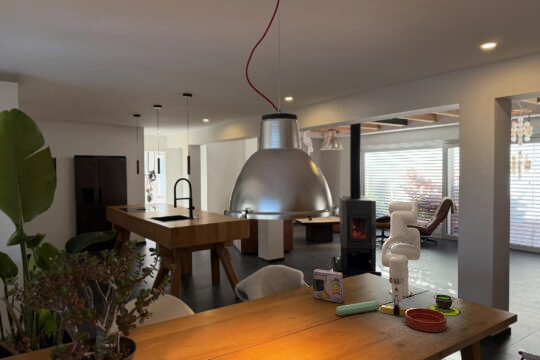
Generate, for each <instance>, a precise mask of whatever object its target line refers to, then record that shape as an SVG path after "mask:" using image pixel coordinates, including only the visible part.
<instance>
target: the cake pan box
mask: <svg viewBox="0 0 540 360" xmlns="http://www.w3.org/2000/svg"><path fill="white" fill-rule="evenodd" d="M343 276H344V275H343V272H339V271H333V270H326V269H320V268H316V269H314V270H313V280H312V289H313V293H314V299H318V300H322V301H327V302H333V303H338V304H342V303H343V302H345V296H344V279H343Z"/></svg>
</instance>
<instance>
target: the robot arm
mask: <svg viewBox="0 0 540 360" xmlns="http://www.w3.org/2000/svg"><path fill="white" fill-rule="evenodd" d="M387 210H388V213H389V215H390V231H389V232H390V235H389V237H388V238H387V239H386V240H385V241H384V243H383V245H382V248H381V265H382V266H383V267H384V268H388V283H389V284H391V289H390V290H389V293H390V294H391V299H392V301H391V302H393V306H392V307H393V314H394V315H393V316H401V315H400V308H399V307H401V306H400V304H402V303H403V297H410V296H411V295H412V291H410V290H409V261H419V260H420V259H421V234H420V233H421V232H420V231H419V229H418V228H416V227H408V226H416V225H417V223H418V219H419V218H418V216H419V206H418V204H417V203H416V202H413V201H410V202H409V201H406V202H405V201H392V202H389V203H388V204H387ZM395 243H396V244H395ZM391 245H392V246H391ZM390 246H391V247H390ZM389 247H390V253H388V248H389Z"/></svg>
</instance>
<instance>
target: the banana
mask: <svg viewBox="0 0 540 360" xmlns="http://www.w3.org/2000/svg"><path fill="white" fill-rule="evenodd" d="M393 307H394V306H393V305H392V306H391V305H385V304H382V305H381V307H380V308H381V311H380V312H381V313H382V314H386V315H387V314H388V315H393V316H395V315H394V314H393ZM399 308H400V315H399V316H404V317H405V311H406V310H408V309H412V308H411V307H401V306H400V307H399Z"/></svg>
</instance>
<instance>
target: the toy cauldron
mask: <svg viewBox="0 0 540 360" xmlns="http://www.w3.org/2000/svg"><path fill="white" fill-rule="evenodd" d="M449 294H450V295H447V294H441V293H440V294H439V293H438V291H436V294H435V295H433V296H432V298H434V299H435V301H434V302H435V305H430V306H429V307H428V309H432V310H435V311H438V312H441V313H443V314H444V315H445V316H456V315H458V314H460V313H459V312H460V311H459V310H458V309H457V308H455V307H452V305H453V303H455V300H456V298H455V297H453V296H452V293H450V292H449Z"/></svg>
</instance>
